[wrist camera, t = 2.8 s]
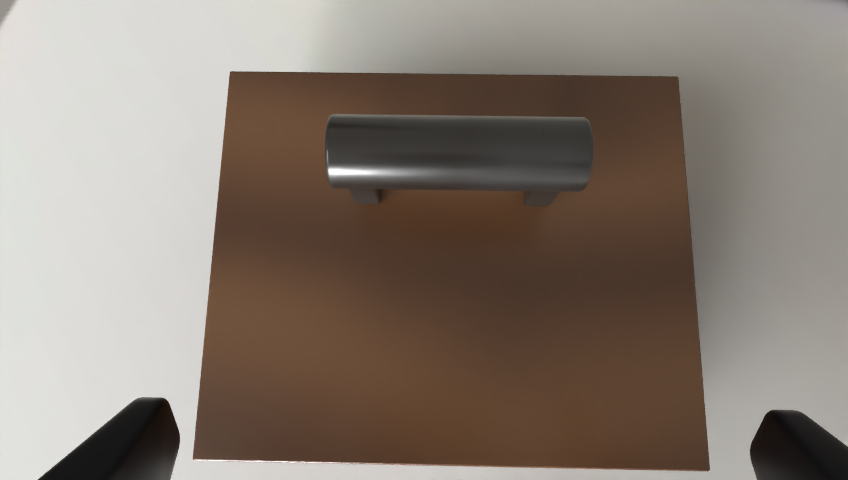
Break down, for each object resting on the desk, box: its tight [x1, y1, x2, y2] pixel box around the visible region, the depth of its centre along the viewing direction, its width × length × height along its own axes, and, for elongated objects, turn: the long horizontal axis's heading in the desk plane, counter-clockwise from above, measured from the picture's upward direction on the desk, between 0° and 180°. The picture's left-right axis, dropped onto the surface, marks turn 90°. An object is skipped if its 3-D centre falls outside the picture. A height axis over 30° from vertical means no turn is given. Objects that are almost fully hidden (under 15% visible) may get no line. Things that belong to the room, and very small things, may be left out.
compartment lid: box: [193, 71, 710, 471], centre depth 14 cm, size 10×13×5 cm
